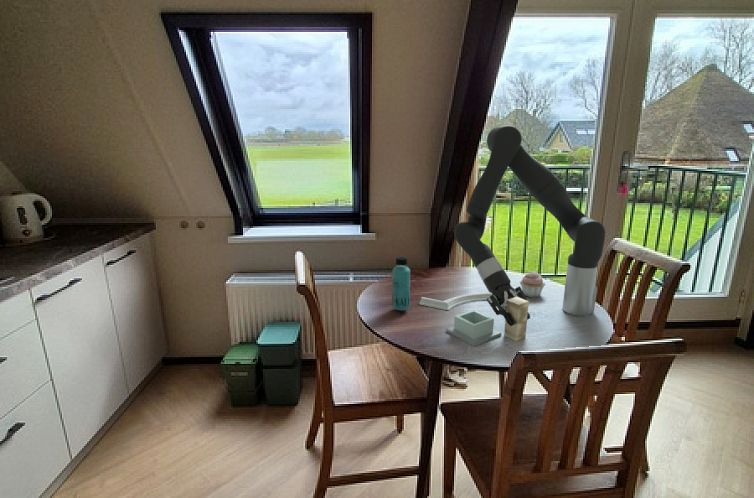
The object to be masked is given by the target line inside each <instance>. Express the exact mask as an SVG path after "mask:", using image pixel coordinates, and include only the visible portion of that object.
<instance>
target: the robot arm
mask: <svg viewBox="0 0 754 498" xmlns="http://www.w3.org/2000/svg"><path fill="white" fill-rule="evenodd" d="M521 133H522V132H520V130H519V129H518V128H517V127H515V126H514V125H513V126H512V125H501V126H500V125H499V126H497V127H494V128H492V129H491V130H490V131H489V133H487V134H488V135H487V137H486V144H487V148H488V149H489V151H490V155H489V158H488V159H489V160H488V162H487V165H486V167H485V168H484V170H483V173H482V175H481V176H480V177H479V179H478V181H477V183H476V185H475V186H474V188H473V191H472V194H471V195H470V197H469V200H468V204H467V206H466V213H467V214H468V220H467V221H462V222H459V223H457V224H456V225H455V226H454V230H453V234H454V238H455V240H456V242H457V244H458V245H459V246H460V247H461V249H462V250H463V251H464V252H465V253H466V254H467V255H468V257H469V258H470V260H471V261H472V263H473V265H474V266H475V267H474V268H475V269H476V270H477V274H478V275H479V277H480V279H481V280H482V282H483V284H484V285H485V287H486V289H487V291H488V293H492V295H491V296H490V297H488V298H487V300H486V301H487V303H488V304H489V306H490V307H491V309H492V310H493V312H494V313H495V315H496V316H500V315H501V316H503V319H504V321H505V320H506V321H507V323H508V324H509V325H510V326H513V325H514V324H516V322H515V320H514V318H513V317H512V315H511V313H510V312H509V309H508V305H509V303H508V301H507V300H508V299H511V298H514V297H519V298H521V299H524V300H527V301H528V299H527V296H525V295H524V293H523V291H522V286H516V287H517V288H513V287H514V286H512V285H511V279H510V277H509V276H508V274H507V272H506V271H505V269H504V267H503V265H502V264H501V263H500V262H499V260H498V258H496V256H495V254H494V252H493V251H492V249H491V248H490V246H489V245H487V243H484V242H482V240H481V239H482V237H483V236H484V232H485V229H486V224H487V217H488V216H487V215H488V214H489V210H490V208H491V206H492V203H493V202H494V201H493V200H494V198H495V196H496V193H497V190H498V188H499V186H500V184H501V181H502V179H503V178H504V175H505V173H506V172H507V169H508V168H509V169H510V170H511V171H512V172H513V174H514V175H515V177H517V179H518V181H520V182H521V184H522V185H523V186H524V187H525V189H526V190H527V191H528V192H529V193H530V195H531V196H533V198H534V199H535V200H536V201H537V202H538V203H539V204H540V205H541V206H542V207H543V208H544V209H545V210H546V211H547V212H549V213H550V215H552V216H553V217H554V218H555V219H556V220H557V222H559V223H558V224H559V225H560V226H561V227H562V229H564V231H565V232H566V234H567V235H568V237H569V238H570V239H571V240H572V241H573V242H574V243H575V244H574V250H573V253H571V254H569V255H568V257H567V264H566V274H565V275H566V276H565V283H564V291H563V300H562V306H561V307H562V311H564V312H565V313H567V314H569V315H573V316H578V317H579V316H580V317H585V316H590V315H592V314H594V312H595V308H596V307H595V306H596V300H597V294H598V293H597V292H598V287H597V286H596V280H597V271H598V265H599V262H600V260H601V258H602V255H603V251H604V246H605V245H604V244H605V239H606V229H605V226H604V225H603V223H601V222H600V221H598V220H596V219H593V218H591V217H589V216H587V215H586V214H585V213H583V212H582V211H581V210H580V209H579V208H578V207H577V206H576V205H575V204H574V203H573V201H572V199H571V198H570V195H569V193H568V191H567V189H566V187H565V186H564V184H563V183H562V181H561V180H560V179H559V178H558V177H557V176H556V175H555V174H554V173H553V172H552V171H551V170H550V168H548V167H546V166H545V165H544V164H543V163H542V162H540V161H539V160H537V159H536V158H534V157H533V156H532V155H531V154H529V152H528V151H527V150H525V148H524V147H523V145H522V138H523V137H522V134H521ZM508 312H509V313H508ZM530 319H531V314H530V313H529V312H528V315H527V321H528V320H530Z"/></svg>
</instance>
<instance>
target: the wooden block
mask: <svg viewBox="0 0 754 498" xmlns="http://www.w3.org/2000/svg"><path fill="white" fill-rule="evenodd" d="M507 301H508V303H509V305H508V309H509V312H510V313H511V315H512V317H513V318H514V320H515V322H516V324H514V325H513V326H510V325H509V324H508V323H507V321H506V320H505V319H504V332H503V333H504V334H503V335H504V336H505V337H506V338H508V339H511V340H512V341H514V342H518V341H520V340H522V339H524V338H526V336H527V325H528V324H527V323H528V320H527V315H528V313H529V300H528V299H527V300H524V299H521V298H519V297H514V298H511V299H508V300H507ZM509 312H508V313H509Z"/></svg>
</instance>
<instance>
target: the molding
mask: <svg viewBox="0 0 754 498" xmlns="http://www.w3.org/2000/svg"><path fill="white" fill-rule="evenodd" d="M512 287H513V288H517V287H518V286H516V285H514V286H512ZM491 295H492V293H490V292H478V293H470V294H464V295H458V296H455V297H450V298H448V299H445V300H439V299H434V298H430V297H429V298H428V297H424V296H421V298H420V301H419V305H420V306H424V307H425V306H426V307H430V308H435V309H439V310H444V311H448V312H449V311H451V310H452V309H454V308H455V307H459V305H463V304H467V303H473V302H482V301H487V298H488V297H490V296H491Z"/></svg>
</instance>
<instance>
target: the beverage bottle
mask: <svg viewBox="0 0 754 498" xmlns="http://www.w3.org/2000/svg"><path fill="white" fill-rule="evenodd" d="M408 264H409V263H408V258H407V257H406V256H397V257H396V258H395V265H396V266H394V268H392V279H391V280H392V282H391V284H392V294H391V300H392V301H391V303H392V308H393V309H394V310H398V311H406V310H409V308H410V307H411V269H410V268H409V267H408V266H407V265H408Z"/></svg>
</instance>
